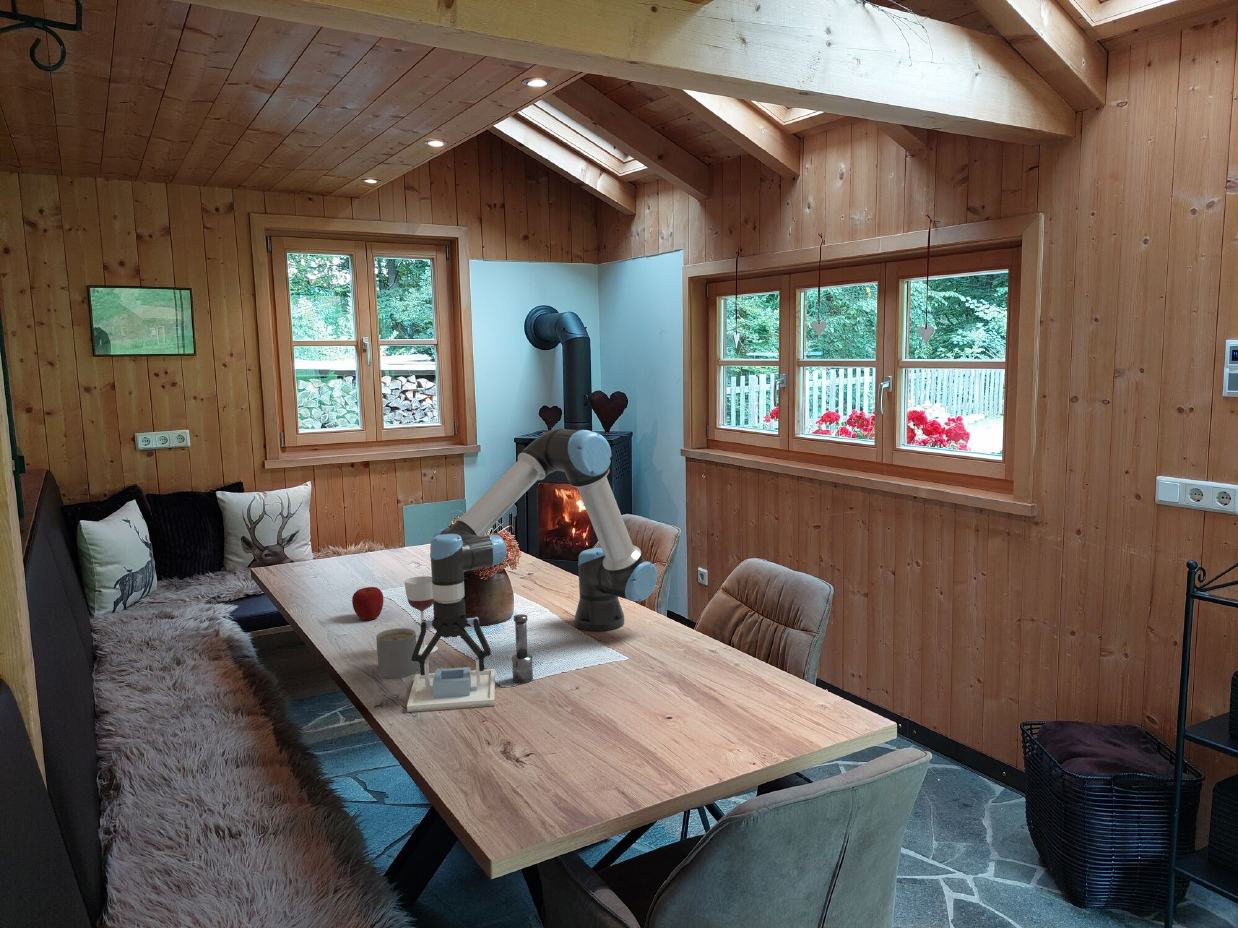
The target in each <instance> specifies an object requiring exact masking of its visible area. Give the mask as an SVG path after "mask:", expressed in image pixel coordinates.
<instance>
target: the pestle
mask: <svg viewBox="0 0 1238 928" xmlns="http://www.w3.org/2000/svg"><path fill="white" fill-rule="evenodd" d="M513 622H514V627H515V628H514V630H515V650H516V651H515V652H516V654H513V655H512V657H511V660H512V662H511V664H512V665H511V666H512V681H513V683H516V684H527V683H528V684H529V683H531V682H532V681H534V673H533V671H534V670H533V655H532V654H531V653H528V634H527V633H528V629H527V622H528V615H527V614H515V615H514V616H513Z"/></svg>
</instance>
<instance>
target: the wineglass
mask: <svg viewBox="0 0 1238 928" xmlns="http://www.w3.org/2000/svg"><path fill="white" fill-rule="evenodd" d="M404 589H405V595H406V598H407V602H408V604H409V605H410V606H411V608H413V609H415V610H418V611H420V623H421V622H422V620H425V617H424V616H425V615H424V613H425V612H424V611H425V610H427V609H429V608H430V607H433V602H434V599H433V592H432V576H426V575H425V576H424V575H423V576H413V577H409V578H406V579H405V580H404ZM427 646H428V644H426V636H425V637H424V640H423V642H422V645H421V648H420V651H419V654H418V655H422V653H423V652H424V650H425V649H426V647H427ZM438 649H439V648H438V646H437V645H435V646H434V648H433V649H432V651H431V652H430V654H432V653H434V652H436V651H438Z"/></svg>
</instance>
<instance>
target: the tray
mask: <svg viewBox="0 0 1238 928" xmlns="http://www.w3.org/2000/svg"><path fill="white" fill-rule="evenodd" d="M470 671H471V688H470V696H459V697H446V698H434V696H433V679H434V674H435V672H429V681H430V686H429V689H426V687H425V675H421V674H420V673H418V674H417V673H415V675H414V679H413V682H412V683H413V684H412V687H411V689H410V693H409V697H408V700H407V705H406V712H407V713H413V712H414V713H417V712H427V711H428V712H429V711H441V710H454V709H456V710H457V709H469V708H482V707H483V708H484V707H493V706H494V707H495V699H496V697H495V696H496V695H495V694H496V668H488V669H487V668H484V671H480V686H477V678H476V669H474V670H471V669H470Z"/></svg>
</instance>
